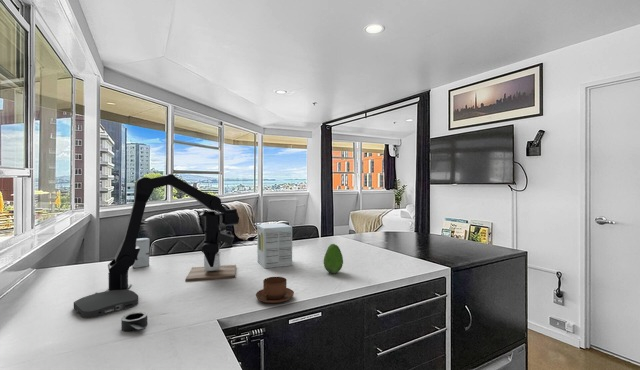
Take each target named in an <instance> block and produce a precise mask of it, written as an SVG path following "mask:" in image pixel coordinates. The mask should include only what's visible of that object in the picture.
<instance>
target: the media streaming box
mask: <svg viewBox="0 0 640 370" xmlns="http://www.w3.org/2000/svg"><path fill="white" fill-rule="evenodd" d="M104 291H105V292H104ZM104 291H101V292H95V293H93V294H89V295H87V296H83V297H81V298H79V299H76V300H75V301H73V311H74V312H75V313H76V314H77V315H78V316H79V317H81V318H83V319H93V318H99V317H102V316H105V315H106V316H107V315H111V314H113V313H117V312H120V311H123V310H127V309H131V308H133V307H135V306H138V305H139V295H138V294H137V293H136V292H134V291H133V290H130V289H128V290H111V291H106V290H104Z"/></svg>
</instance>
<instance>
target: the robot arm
mask: <svg viewBox="0 0 640 370" xmlns="http://www.w3.org/2000/svg"><path fill="white" fill-rule="evenodd" d="M165 186H170V187H172V188H174V189H176V190H178V191H179V192H181V193H183V194H185V195H187V196H188V197H191V198H192V199H194V200H195V201H196V202H197V203H199V204H200V205H201V206H202V207H204V208H205V209H206V210H205V209H203V210H202V212H201V213H199V216H200V217H204V231H203V233H204V242H203V245H202V246H201V253H202V254H203V256H204V255H205V257H206V259H207V261H208V263H209V265H210V267H213V265H214V260H215V255H216V253H218V252H220V249H221V246H222V243H226V244H228V245H232V244H233V241H234V239H235V236H234V234H232V231H230V230H227V231H226V232H223V231H222V228H221V226H220V225H221V224H222V225H223V226H224V227H226V226H237V225H239V223H240V217H239V213H238V209H236V208H231V209H227V208H225V207H224V205H223V203H222V199H221V198H220V197H219V196H217V195H214V194H212V193H211V194H210V193H208V192H206V191H205V192H204V191H201V190H200V189H198V188H196V187H194V186H193V185H191V184H189V183H187V182H186V181H184V180H182V179H180V178H178V177H177V176H175V175H174V174H172V173H168V174H165V175H161V176H157V177H152V178H150V177H148V176H147V177H146V176H145V177H142V176H141V177H140V178H138V179H136V180H135V183H134V187H133V188H134V189H133V191H134V192H133V204H132V208H131V211H130V215H129V219H128V222H127V226H126V229H125V233H124V237H123V240H122V241H121V243H120V245H119V246H118V249H117V251H116V253H115V255H114V258H113V259H112V261H111V262H109V263H108V264H107V269H108V275H107V276H108V277H107V278H108V288H107V289H106V290H104V291H103V292H105V291H111V290H130V288H131V287H132V286H133V285H132V284H129V269H130V268H131V267H133V266H132V265H133V264H134V263H135V260H138V259H137V256H138V253H139V251H140V248H139V246H136V240H137V239H138V235H139V232H140V228H141V224H142V220H143V217H144V213H145V209H146V205H147V203H148V201H149V199H150V198H151V196H152V193H153V192H154V189H158V188H159V189H160V188H162V187H165ZM207 210H208V211H207ZM209 210H210V211H209ZM217 212H218V213H217Z"/></svg>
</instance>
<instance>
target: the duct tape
mask: <svg viewBox="0 0 640 370" xmlns="http://www.w3.org/2000/svg"><path fill="white" fill-rule="evenodd" d="M120 324H121V327H120V329H121V331H122V332H124V333H131V332H136V331H140V330H146V327H147V326H148V313H147V312H145V311H134V312H131V313H128V314H125V315H123V316H122V317H121V321H120Z"/></svg>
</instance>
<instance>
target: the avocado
mask: <svg viewBox="0 0 640 370" xmlns="http://www.w3.org/2000/svg"><path fill="white" fill-rule="evenodd" d="M343 265H344V259H343V253H342V250H341V248H340V247H339V246H338V245H337V244H335V243H331V244H330V245H329V246H328V247H327V249H326V251H325V254H324V257H323V266H324V269H325V270H326V271H327V272H328V273H329V274H330V273H331V274H338V272H340V270H342V267H343Z"/></svg>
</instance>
